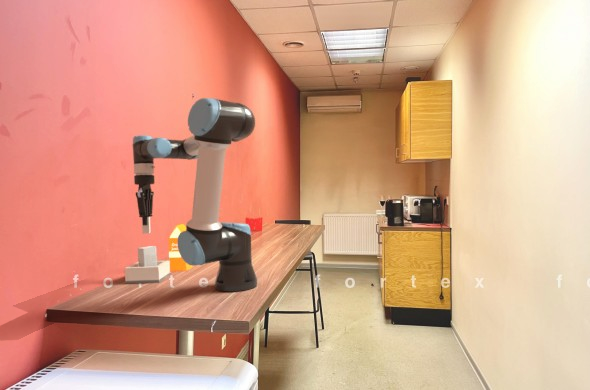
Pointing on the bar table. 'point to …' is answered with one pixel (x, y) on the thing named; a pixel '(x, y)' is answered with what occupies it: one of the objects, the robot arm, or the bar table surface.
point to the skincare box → (147, 256)
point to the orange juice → (176, 251)
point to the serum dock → (147, 273)
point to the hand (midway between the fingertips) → (146, 233)
